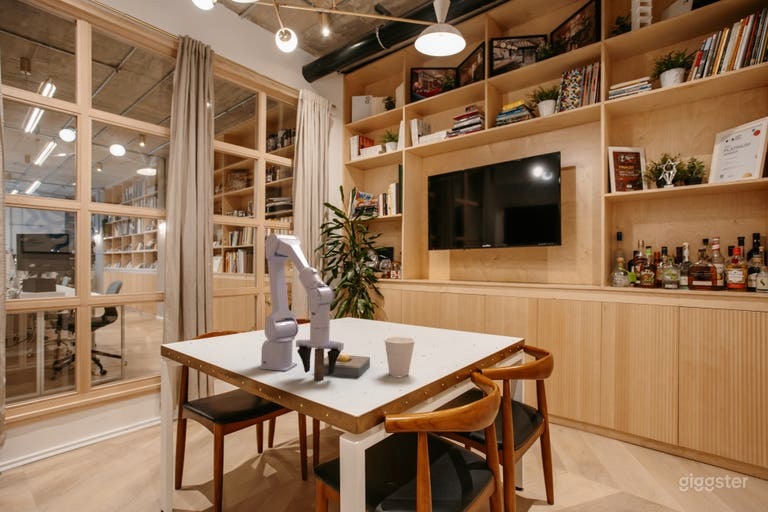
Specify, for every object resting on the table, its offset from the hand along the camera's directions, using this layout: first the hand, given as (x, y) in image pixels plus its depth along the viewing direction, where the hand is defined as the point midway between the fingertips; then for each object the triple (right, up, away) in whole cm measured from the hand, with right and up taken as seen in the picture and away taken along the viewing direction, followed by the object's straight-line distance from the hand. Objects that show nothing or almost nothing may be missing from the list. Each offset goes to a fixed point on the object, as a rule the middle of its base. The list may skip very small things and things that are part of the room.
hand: (318, 372), depth 111 cm
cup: (+24, -3, +6) cm, 25 cm away
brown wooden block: (0, -2, 0) cm, 2 cm away
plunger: (+6, 0, +10) cm, 12 cm away
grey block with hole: (+6, -2, +10) cm, 12 cm away
